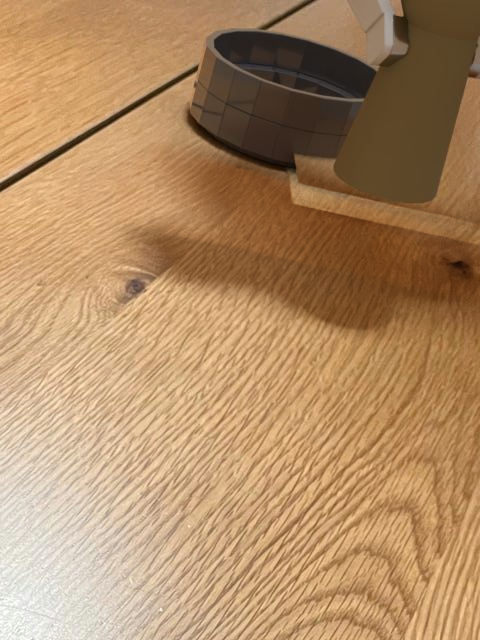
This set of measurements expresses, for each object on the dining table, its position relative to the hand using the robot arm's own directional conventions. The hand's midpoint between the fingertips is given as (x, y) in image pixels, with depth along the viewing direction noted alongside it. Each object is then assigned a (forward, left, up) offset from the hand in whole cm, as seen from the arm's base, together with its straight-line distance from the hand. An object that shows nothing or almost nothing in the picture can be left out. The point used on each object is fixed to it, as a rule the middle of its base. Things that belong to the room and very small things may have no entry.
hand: (433, 67), depth 67 cm
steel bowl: (+2, -29, -13) cm, 32 cm away
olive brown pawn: (0, -1, -6) cm, 6 cm away
